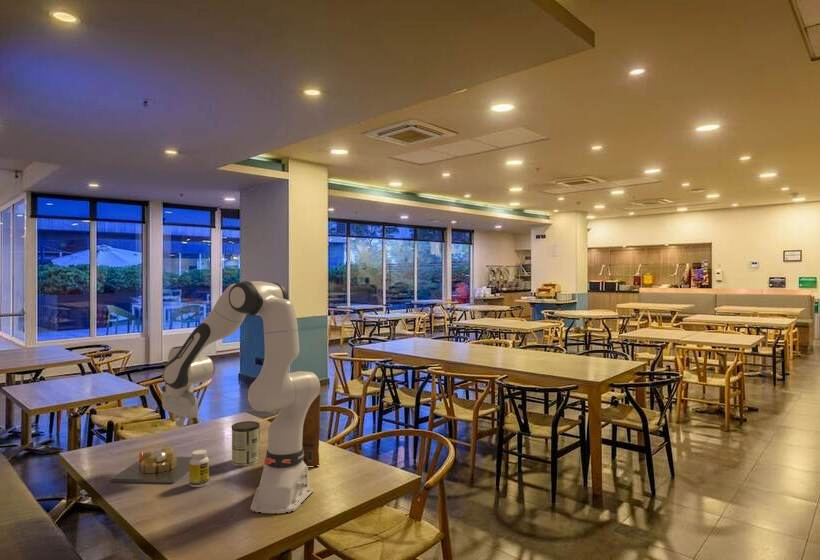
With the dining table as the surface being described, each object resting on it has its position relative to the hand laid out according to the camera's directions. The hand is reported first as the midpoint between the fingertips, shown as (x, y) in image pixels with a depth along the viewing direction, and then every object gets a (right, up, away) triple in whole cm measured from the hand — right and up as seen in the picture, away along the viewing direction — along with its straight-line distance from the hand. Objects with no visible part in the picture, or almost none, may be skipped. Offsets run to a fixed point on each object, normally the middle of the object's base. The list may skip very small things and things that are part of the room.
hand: (179, 425), depth 189 cm
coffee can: (+23, -16, +6) cm, 28 cm away
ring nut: (-6, -14, -3) cm, 15 cm away
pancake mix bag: (+45, -16, +4) cm, 48 cm away
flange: (-6, -15, -4) cm, 17 cm away
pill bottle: (+14, -16, -16) cm, 26 cm away
